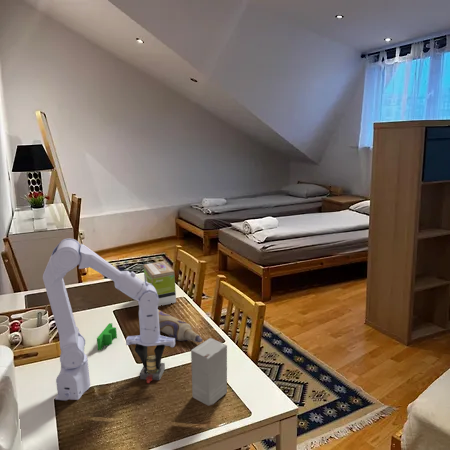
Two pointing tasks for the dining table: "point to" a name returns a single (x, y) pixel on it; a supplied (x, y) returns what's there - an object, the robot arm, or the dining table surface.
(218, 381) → the skincare box
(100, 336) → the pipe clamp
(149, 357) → the small wooden barrel
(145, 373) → the stand base
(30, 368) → the dining table surface
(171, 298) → the tea box
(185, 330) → the decorative bottle
